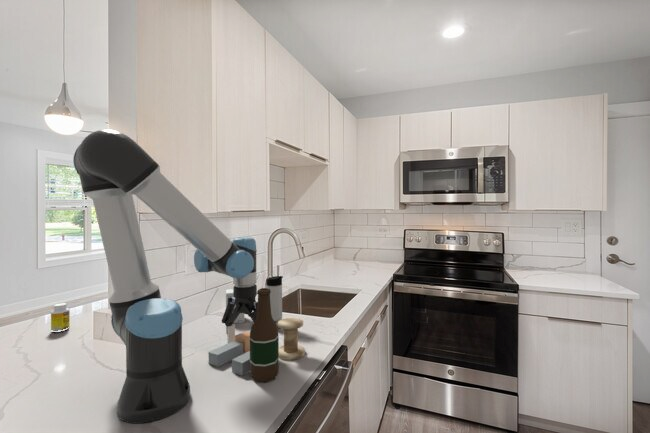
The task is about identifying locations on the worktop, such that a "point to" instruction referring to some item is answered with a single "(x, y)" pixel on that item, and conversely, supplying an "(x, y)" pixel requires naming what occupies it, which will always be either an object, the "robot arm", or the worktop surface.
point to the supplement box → (241, 316)
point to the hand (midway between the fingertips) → (245, 349)
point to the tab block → (244, 340)
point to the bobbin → (291, 339)
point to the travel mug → (275, 297)
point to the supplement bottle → (60, 317)
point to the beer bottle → (264, 341)
